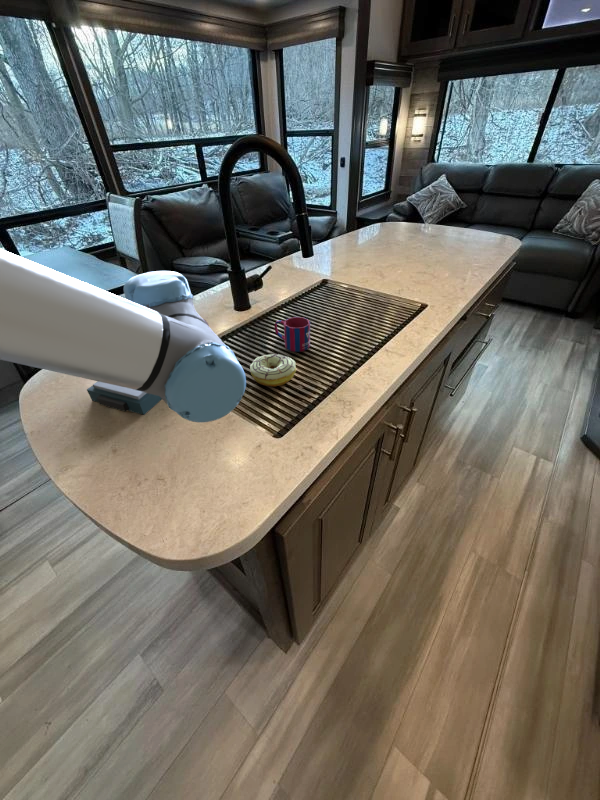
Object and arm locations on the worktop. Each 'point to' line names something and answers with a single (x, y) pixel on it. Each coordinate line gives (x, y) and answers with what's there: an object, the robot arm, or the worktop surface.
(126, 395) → the scale
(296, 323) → the mug
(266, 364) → the decorated donut
